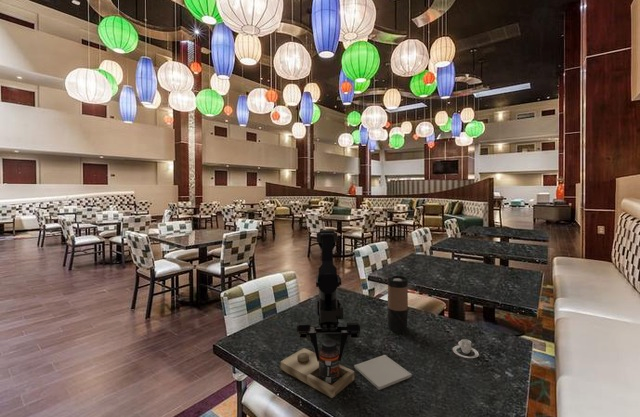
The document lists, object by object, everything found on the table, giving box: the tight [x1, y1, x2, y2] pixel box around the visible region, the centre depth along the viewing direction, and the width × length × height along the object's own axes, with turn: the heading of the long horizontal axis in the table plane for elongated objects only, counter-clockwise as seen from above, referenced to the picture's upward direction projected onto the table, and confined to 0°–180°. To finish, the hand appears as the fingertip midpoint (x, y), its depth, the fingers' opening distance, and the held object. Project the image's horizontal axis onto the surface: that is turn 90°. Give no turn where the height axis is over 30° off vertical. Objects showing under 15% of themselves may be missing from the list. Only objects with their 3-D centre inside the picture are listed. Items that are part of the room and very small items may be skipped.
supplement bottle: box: [318, 339, 340, 385], centre depth 89 cm, size 6×6×11 cm
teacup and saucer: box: [452, 338, 480, 359], centre depth 103 cm, size 9×8×4 cm
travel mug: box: [387, 275, 409, 334], centre depth 120 cm, size 8×8×20 cm
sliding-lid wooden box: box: [280, 347, 355, 399], centre depth 92 cm, size 20×10×4 cm, turn 49°
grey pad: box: [354, 354, 412, 391], centre depth 93 cm, size 12×12×1 cm
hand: (329, 361), depth 87 cm, fingers closed on supplement bottle, 6 cm apart
